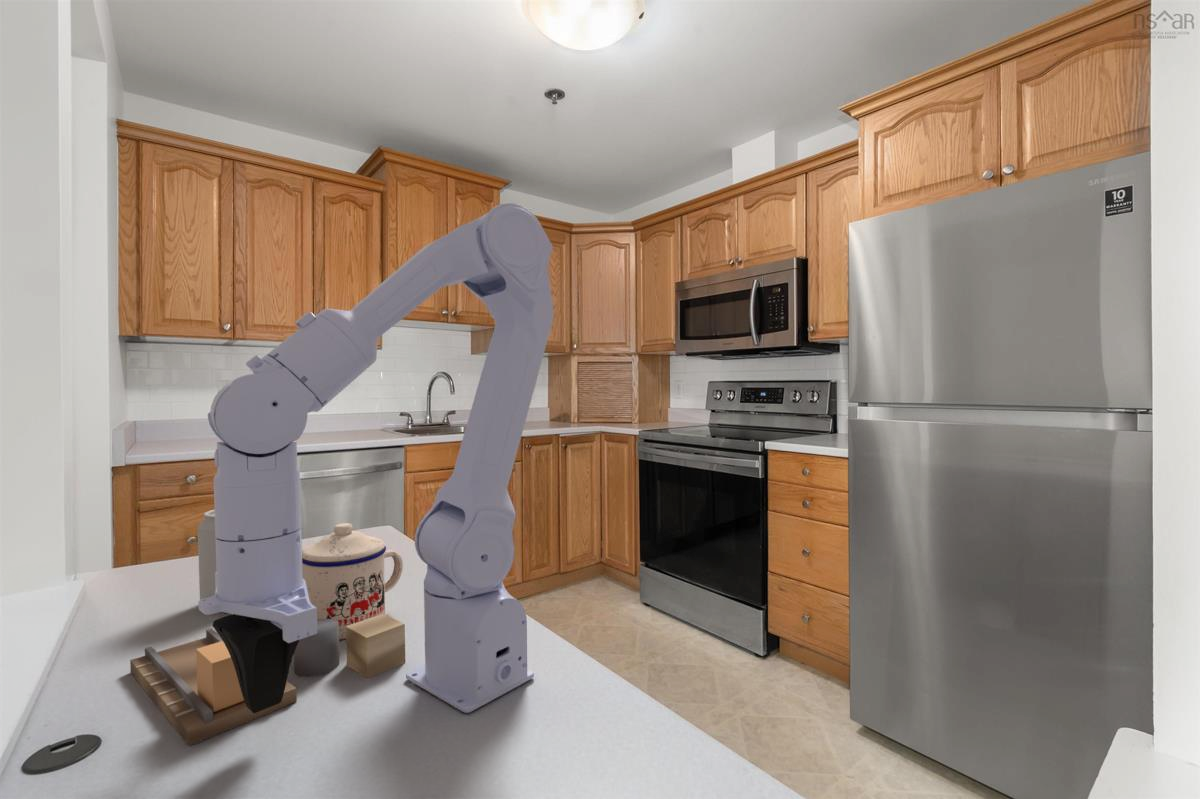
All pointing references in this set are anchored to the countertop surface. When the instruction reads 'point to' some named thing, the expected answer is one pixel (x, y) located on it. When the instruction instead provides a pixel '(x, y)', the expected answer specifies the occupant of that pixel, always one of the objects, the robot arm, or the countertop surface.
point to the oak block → (375, 645)
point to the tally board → (191, 691)
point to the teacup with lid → (348, 576)
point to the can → (207, 555)
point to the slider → (217, 677)
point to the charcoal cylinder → (318, 650)
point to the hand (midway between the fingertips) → (264, 704)
